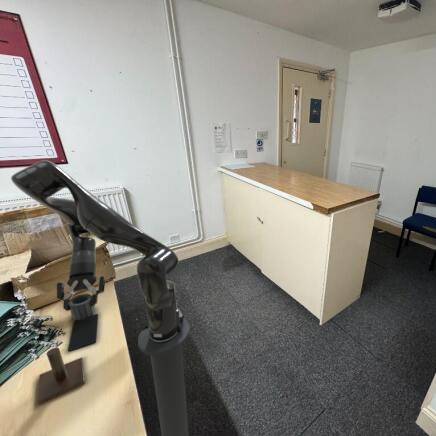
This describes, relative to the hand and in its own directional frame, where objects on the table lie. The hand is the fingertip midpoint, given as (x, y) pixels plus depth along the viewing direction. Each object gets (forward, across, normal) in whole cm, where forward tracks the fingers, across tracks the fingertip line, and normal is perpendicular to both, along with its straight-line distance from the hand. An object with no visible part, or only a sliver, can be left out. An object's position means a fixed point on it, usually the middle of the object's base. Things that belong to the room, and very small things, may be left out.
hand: (80, 307), depth 85 cm
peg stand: (+22, +1, -15) cm, 26 cm away
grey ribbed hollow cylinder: (+2, 0, +4) cm, 5 cm away
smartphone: (+9, +2, -2) cm, 9 cm away
